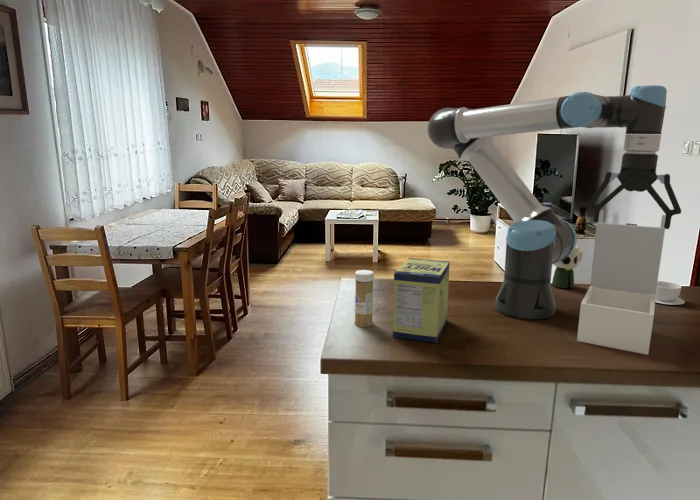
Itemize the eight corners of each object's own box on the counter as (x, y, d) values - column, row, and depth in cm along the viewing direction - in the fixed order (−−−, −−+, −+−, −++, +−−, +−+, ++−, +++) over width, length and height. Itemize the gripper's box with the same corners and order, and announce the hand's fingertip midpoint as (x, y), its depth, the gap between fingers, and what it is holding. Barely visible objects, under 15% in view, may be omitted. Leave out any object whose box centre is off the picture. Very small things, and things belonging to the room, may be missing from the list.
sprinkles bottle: (350, 324, 123) (350, 271, 120) (364, 319, 126) (364, 268, 123) (363, 329, 120) (364, 275, 117) (377, 324, 123) (377, 271, 120)
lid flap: (590, 285, 125) (594, 274, 132) (655, 294, 117) (656, 282, 125) (596, 223, 120) (601, 215, 127) (665, 228, 113) (665, 220, 120)
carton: (576, 340, 113) (580, 303, 111) (586, 319, 127) (590, 285, 125) (648, 354, 106) (653, 315, 104) (650, 330, 119) (655, 295, 117)
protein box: (447, 320, 126) (450, 260, 122) (437, 344, 111) (440, 276, 108) (406, 315, 129) (408, 257, 126) (391, 338, 115) (393, 272, 111)
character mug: (552, 291, 150) (556, 249, 147) (540, 284, 157) (543, 244, 154) (585, 289, 152) (590, 247, 149) (571, 283, 158) (576, 243, 156)
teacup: (683, 298, 144) (686, 283, 143) (685, 308, 136) (687, 292, 135) (643, 293, 149) (645, 278, 148) (642, 302, 141) (645, 286, 140)
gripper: (582, 151, 124) (572, 235, 129) (703, 154, 112) (688, 247, 116) (586, 151, 131) (577, 230, 135) (701, 153, 118) (687, 241, 123)
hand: (628, 238), depth 126 cm, fingers open, 13 cm apart
